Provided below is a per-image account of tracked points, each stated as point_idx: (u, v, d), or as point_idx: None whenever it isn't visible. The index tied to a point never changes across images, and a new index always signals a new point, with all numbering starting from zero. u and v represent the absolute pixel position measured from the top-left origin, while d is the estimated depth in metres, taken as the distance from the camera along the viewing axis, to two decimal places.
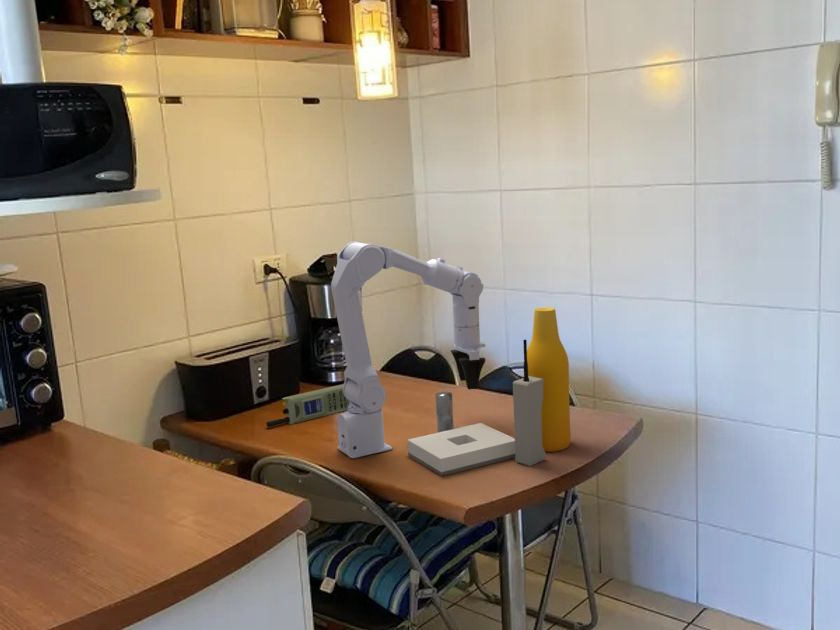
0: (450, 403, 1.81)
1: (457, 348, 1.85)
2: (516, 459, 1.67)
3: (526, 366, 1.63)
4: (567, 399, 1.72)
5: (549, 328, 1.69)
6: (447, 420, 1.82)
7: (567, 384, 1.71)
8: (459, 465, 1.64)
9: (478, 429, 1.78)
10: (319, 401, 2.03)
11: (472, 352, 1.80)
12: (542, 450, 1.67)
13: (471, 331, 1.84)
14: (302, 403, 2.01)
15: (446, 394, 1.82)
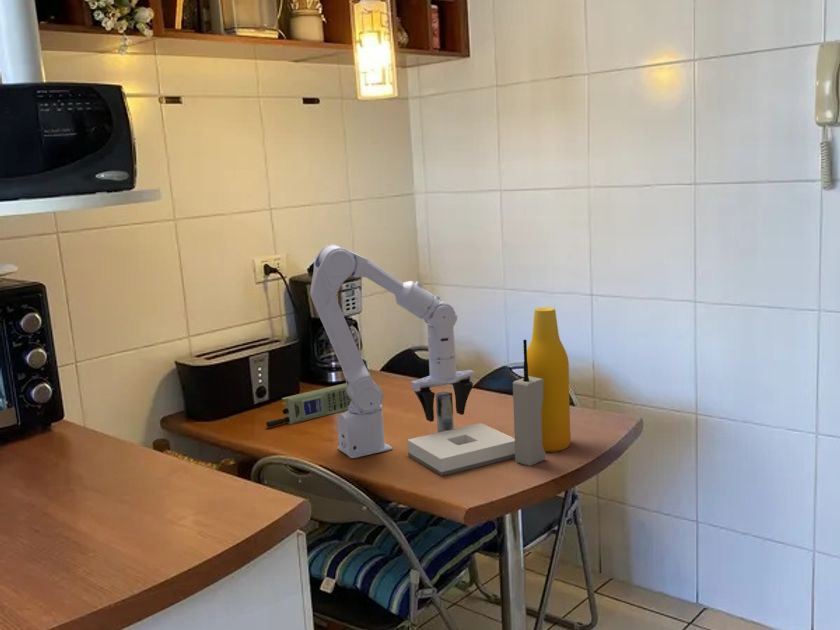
0: (450, 403, 1.81)
1: None
2: (516, 459, 1.67)
3: (526, 366, 1.63)
4: (567, 399, 1.72)
5: (549, 328, 1.69)
6: (447, 420, 1.82)
7: (567, 384, 1.71)
8: (459, 465, 1.64)
9: (478, 429, 1.78)
10: (319, 401, 2.03)
11: (412, 382, 1.79)
12: (542, 450, 1.67)
13: (431, 363, 1.79)
14: (302, 403, 2.01)
15: (446, 394, 1.82)
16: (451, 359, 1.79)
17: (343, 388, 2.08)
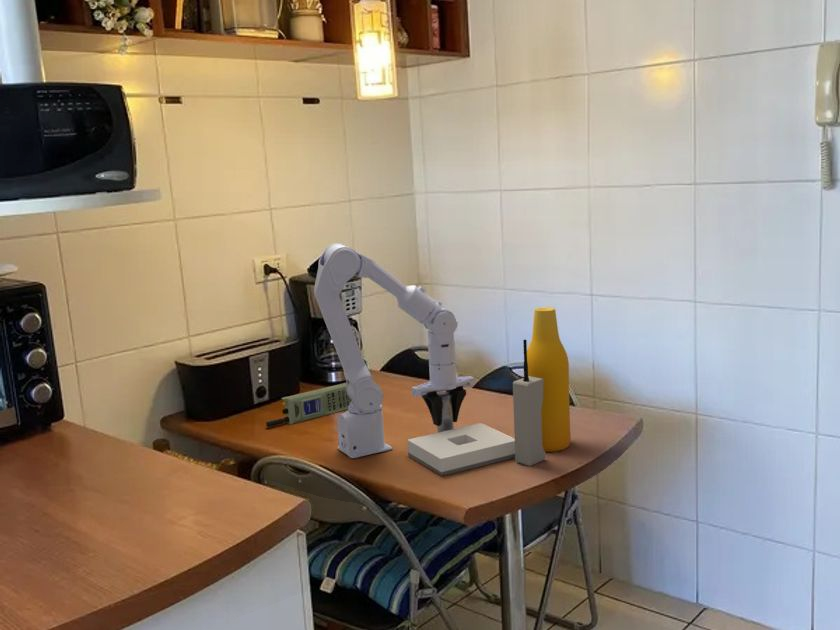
0: (450, 403, 1.81)
1: None
2: (516, 459, 1.67)
3: (526, 366, 1.63)
4: (567, 399, 1.72)
5: (549, 328, 1.69)
6: (447, 420, 1.82)
7: (567, 384, 1.71)
8: (459, 465, 1.64)
9: (478, 429, 1.78)
10: (319, 401, 2.04)
11: (412, 388, 1.79)
12: (542, 450, 1.67)
13: (432, 369, 1.79)
14: (302, 403, 2.01)
15: (446, 394, 1.82)
16: (451, 365, 1.79)
17: (342, 388, 2.08)
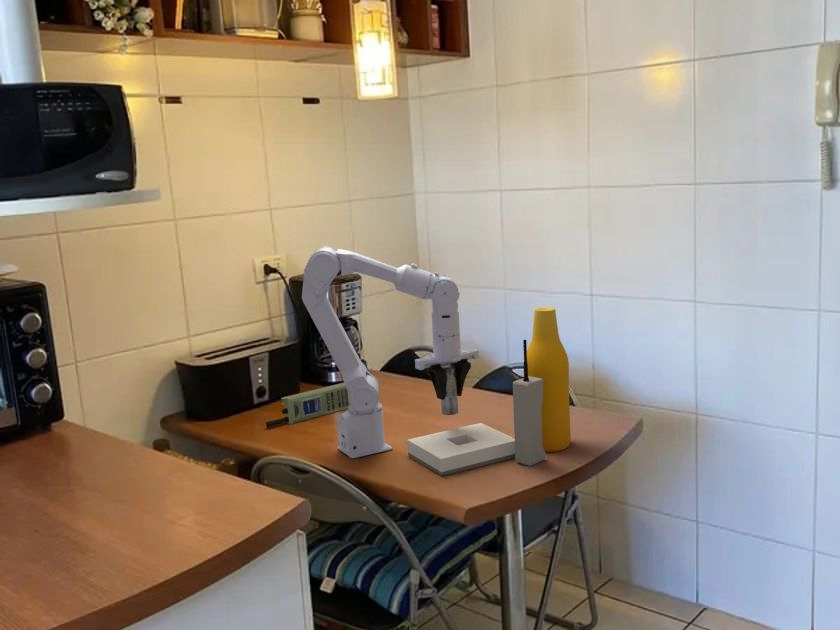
0: (454, 376, 1.76)
1: None
2: (516, 459, 1.67)
3: (526, 366, 1.63)
4: (567, 399, 1.72)
5: (549, 328, 1.69)
6: (451, 394, 1.76)
7: (567, 384, 1.71)
8: (459, 465, 1.64)
9: (478, 429, 1.78)
10: (318, 401, 2.04)
11: (416, 360, 1.74)
12: (542, 450, 1.67)
13: (436, 341, 1.74)
14: (301, 403, 2.01)
15: (450, 367, 1.77)
16: (456, 337, 1.74)
17: (341, 388, 2.08)
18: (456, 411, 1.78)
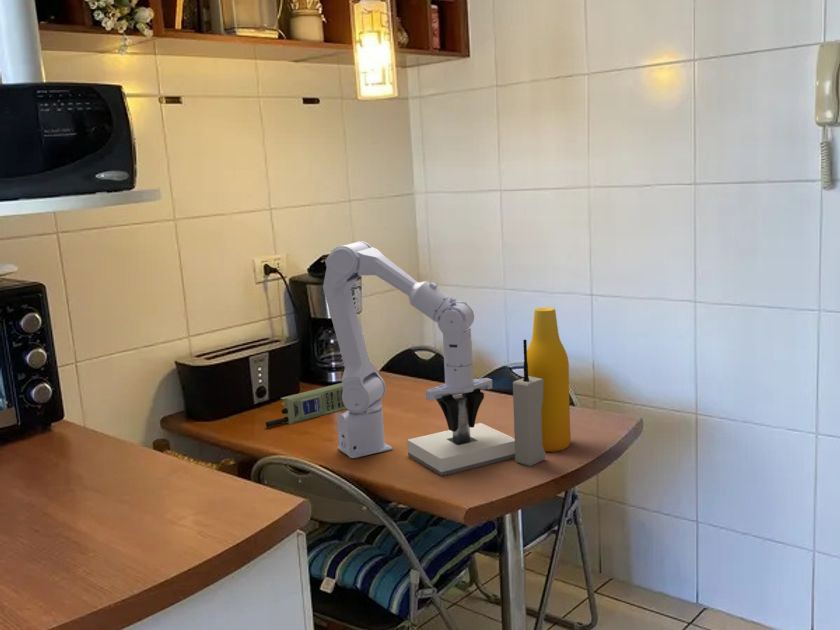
0: (466, 407, 1.69)
1: None
2: (516, 459, 1.67)
3: (526, 366, 1.63)
4: (567, 399, 1.72)
5: (549, 328, 1.69)
6: (462, 426, 1.69)
7: (567, 384, 1.71)
8: (459, 465, 1.64)
9: (478, 429, 1.78)
10: (318, 401, 2.04)
11: (427, 391, 1.67)
12: (542, 450, 1.67)
13: (447, 370, 1.67)
14: (301, 403, 2.01)
15: (461, 397, 1.70)
16: (468, 366, 1.67)
17: (341, 388, 2.08)
18: None
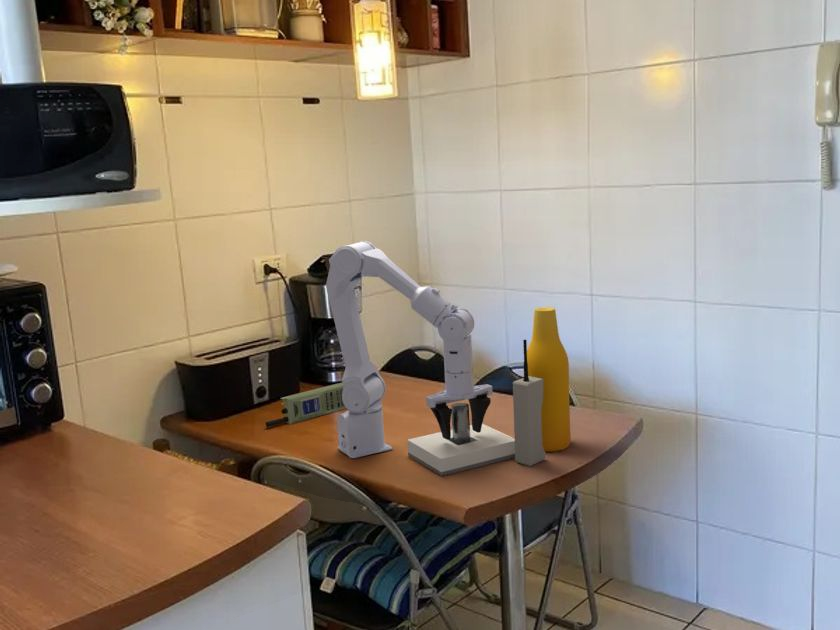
0: (466, 415, 1.70)
1: None
2: (516, 459, 1.67)
3: (526, 366, 1.63)
4: (567, 399, 1.72)
5: (549, 328, 1.69)
6: (463, 434, 1.70)
7: (567, 384, 1.71)
8: (459, 465, 1.64)
9: None
10: (317, 401, 2.04)
11: (427, 398, 1.67)
12: (542, 450, 1.67)
13: (448, 377, 1.67)
14: (301, 403, 2.01)
15: (462, 405, 1.70)
16: (469, 373, 1.67)
17: (340, 388, 2.08)
18: None
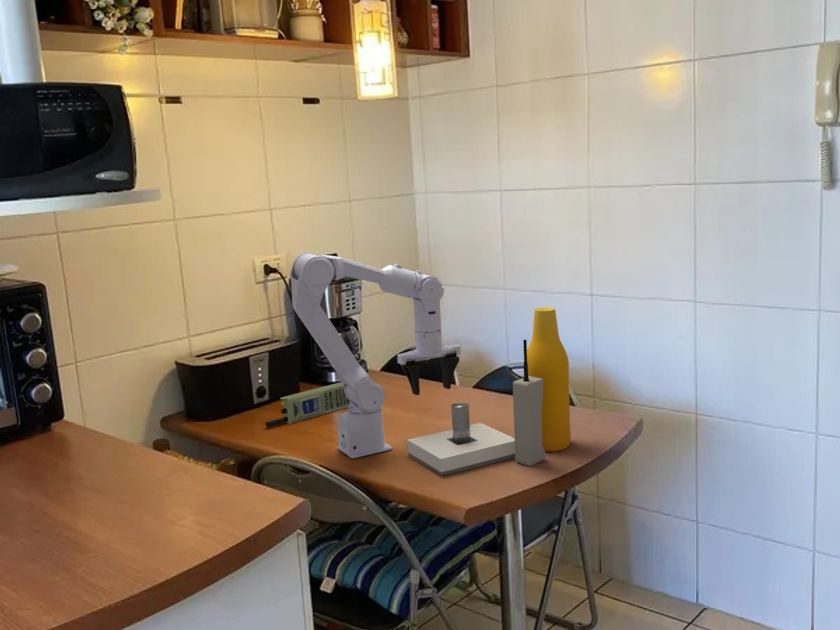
0: (467, 415, 1.69)
1: None
2: (516, 459, 1.67)
3: (526, 366, 1.63)
4: (567, 399, 1.72)
5: (549, 328, 1.69)
6: (463, 434, 1.70)
7: (567, 384, 1.71)
8: (459, 465, 1.64)
9: (478, 429, 1.78)
10: (317, 400, 2.04)
11: (398, 355, 1.79)
12: (542, 450, 1.67)
13: (417, 336, 1.79)
14: (300, 402, 2.01)
15: (462, 406, 1.70)
16: (437, 333, 1.79)
17: (339, 387, 2.09)
18: None
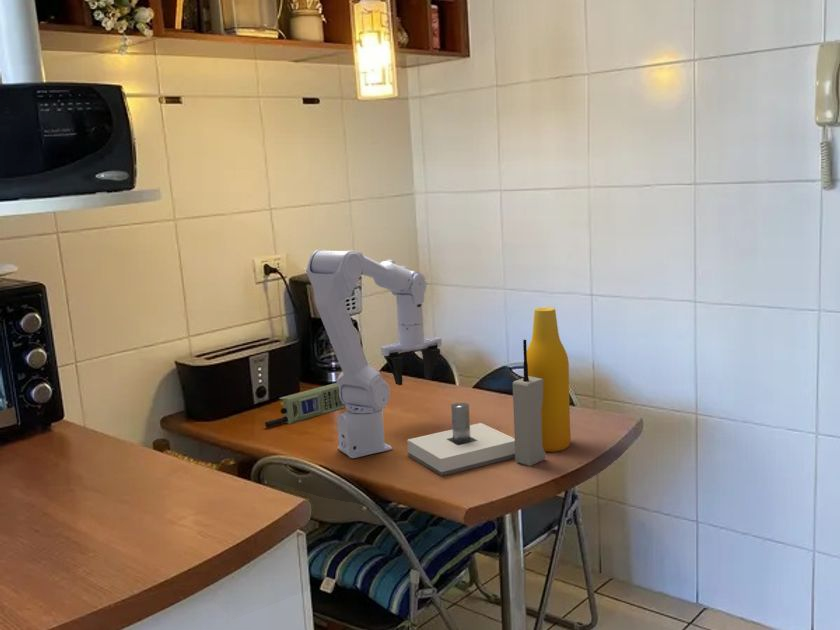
0: (467, 415, 1.69)
1: None
2: (516, 459, 1.67)
3: (526, 366, 1.63)
4: (567, 399, 1.72)
5: (549, 328, 1.69)
6: (463, 434, 1.70)
7: (567, 384, 1.71)
8: (459, 465, 1.64)
9: (478, 429, 1.78)
10: (316, 400, 2.04)
11: (382, 347, 1.88)
12: (542, 450, 1.67)
13: (400, 329, 1.88)
14: (300, 402, 2.01)
15: (462, 406, 1.70)
16: (419, 325, 1.88)
17: (338, 387, 2.09)
18: None
